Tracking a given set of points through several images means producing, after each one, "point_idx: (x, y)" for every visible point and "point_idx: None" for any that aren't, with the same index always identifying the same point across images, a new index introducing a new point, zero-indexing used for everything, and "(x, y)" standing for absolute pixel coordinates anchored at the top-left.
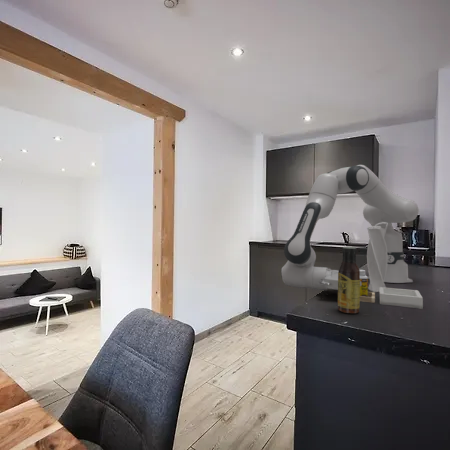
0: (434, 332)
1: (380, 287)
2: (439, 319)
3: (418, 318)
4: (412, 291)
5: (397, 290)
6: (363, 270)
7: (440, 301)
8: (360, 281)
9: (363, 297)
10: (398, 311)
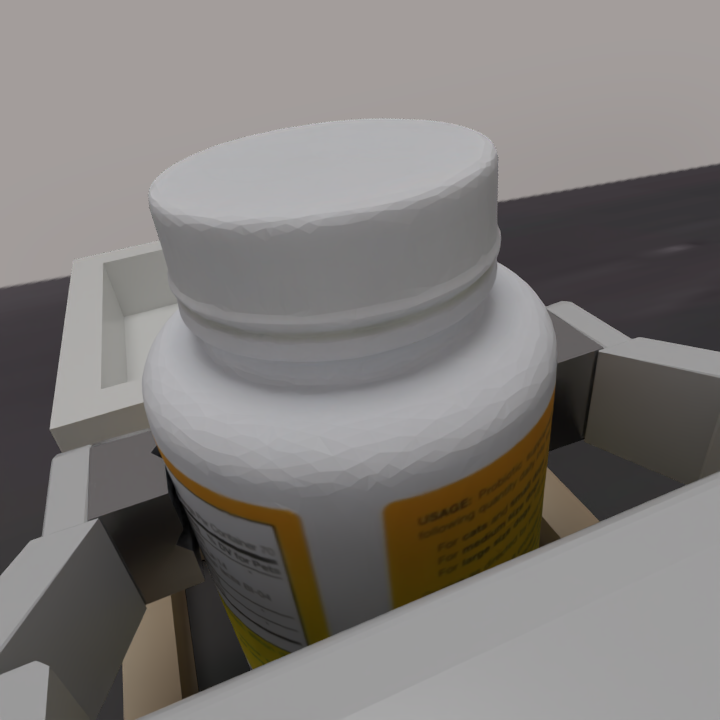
0: (710, 178)
1: (73, 415)
2: (497, 210)
3: (580, 230)
4: (106, 274)
5: (105, 328)
6: (302, 131)
7: (67, 285)
8: (569, 303)
9: (548, 473)
10: (550, 289)
